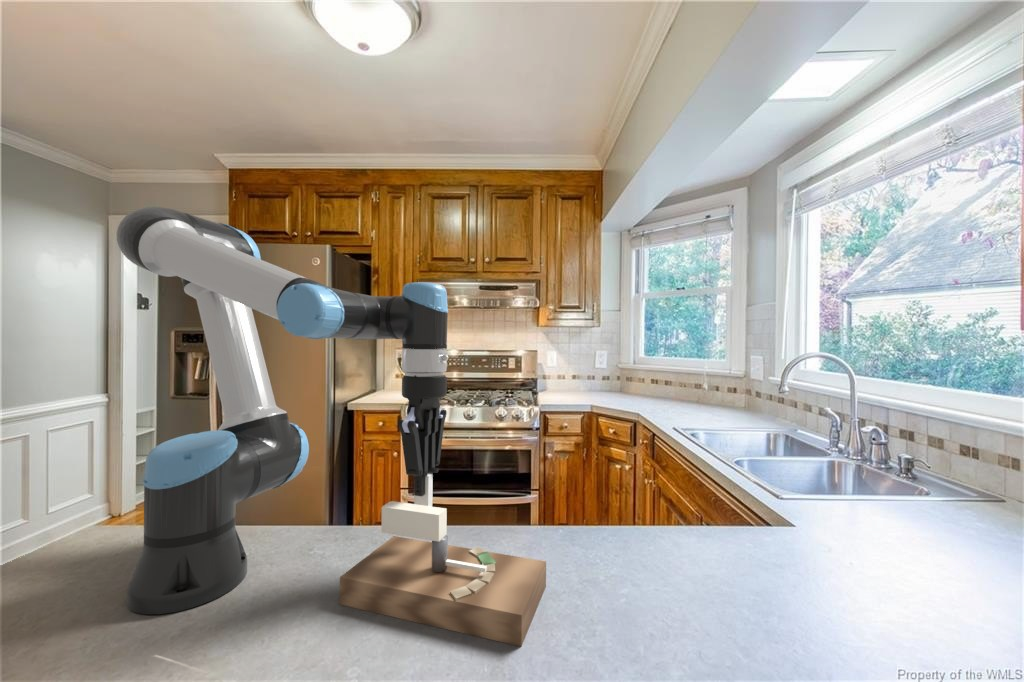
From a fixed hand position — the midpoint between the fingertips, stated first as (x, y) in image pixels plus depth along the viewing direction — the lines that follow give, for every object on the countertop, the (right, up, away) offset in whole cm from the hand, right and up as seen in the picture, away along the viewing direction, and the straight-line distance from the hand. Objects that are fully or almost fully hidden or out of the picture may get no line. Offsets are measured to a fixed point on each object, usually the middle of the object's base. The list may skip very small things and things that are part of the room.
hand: (423, 512), depth 72 cm
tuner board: (+5, -10, -7) cm, 13 cm away
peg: (+4, -6, -7) cm, 10 cm away
